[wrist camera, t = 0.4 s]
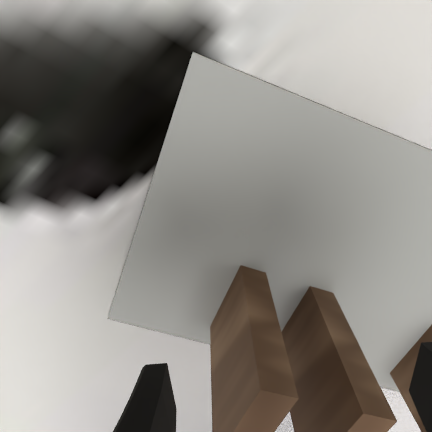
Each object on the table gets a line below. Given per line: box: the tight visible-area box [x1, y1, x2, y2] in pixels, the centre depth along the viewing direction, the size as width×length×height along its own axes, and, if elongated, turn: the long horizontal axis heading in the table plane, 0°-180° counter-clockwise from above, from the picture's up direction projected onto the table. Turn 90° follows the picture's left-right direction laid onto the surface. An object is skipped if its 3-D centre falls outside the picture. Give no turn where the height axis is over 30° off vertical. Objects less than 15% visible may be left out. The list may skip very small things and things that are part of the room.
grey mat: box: [107, 52, 432, 392], centre depth 22 cm, size 32×16×1 cm, turn 69°
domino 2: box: [282, 286, 397, 432], centre depth 19 cm, size 2×5×8 cm, turn 159°
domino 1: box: [210, 265, 299, 432], centre depth 18 cm, size 2×5×8 cm, turn 159°
